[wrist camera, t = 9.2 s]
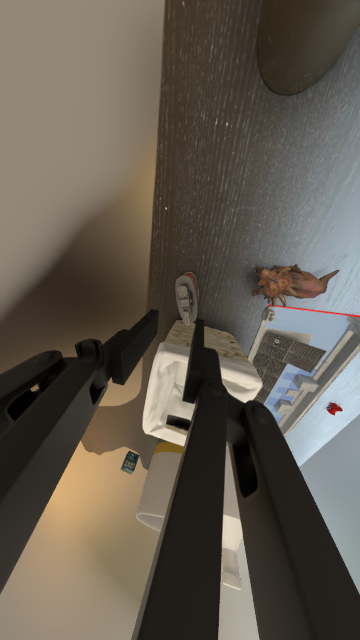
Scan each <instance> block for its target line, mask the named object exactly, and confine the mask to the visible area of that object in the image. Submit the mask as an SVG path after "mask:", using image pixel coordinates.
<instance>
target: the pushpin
mask: <svg viewBox="0 0 360 640" xmlns="http://www.w3.org/2000/svg"><path fill="white" fill-rule="evenodd" d="M331 405H332V407H331V409H327V411H328V412H329V413H330V414H332V415H335V412H336V411H343V410H342V409H341V408H340V407H339V405H340V404H339V405H336V404H334V403H331Z"/></svg>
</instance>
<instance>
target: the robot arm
mask: <svg viewBox="0 0 360 640" xmlns="http://www.w3.org/2000/svg"><path fill="white" fill-rule="evenodd" d="M158 315H159V311H158V310H153V309H151V310H150V311H149V312H148V313H147V314H146V315H145V316H144V317H143V318H142V319H141V320H140V321H139V322H138V323H136V324H135V325H134V326H133V327H132V328H131V329H130V330H126V329H124V330H121V331H119V332H117V333H116V334H115V335H114V336H113V337H111V338H110V339H109V340H108V341H107V342H105V343H104V344H103V345H102V343H101V341H99V340H96V339H88V340H83V341H81V342H78V343H77V344H75V348H76V352H77V356H78V357H68V358H66V357H63V356H62V353H61V352H60V351H55V350H52V351H46V352H43V353H40V354H37V355H35V356H33V357H31V358H30V359H28V360H26V361H24V362H22V363H20V364H19V365H17V366H15V367H13V368H11V369H9V370H7V371H5V372H4V373H2V374H0V594H1V592H2V590H3V588H4V586H5V584H6V582H7V580H8V579H9V577H10V575H11V573H12V571H13V569H14V567H15V565H16V563H17V561H18V559H19V557H20V556H21V554H22V552H23V550H24V548H25V546H26V544H27V542H28V540H29V538H30V536H31V534H32V532H33V530H34V529H35V527H36V525H37V523H38V521H39V519H40V517H41V515H42V513H43V511H44V509H45V507H46V505H47V504H48V502H49V500H50V498H51V496H52V494H53V492H54V490H55V488H56V486H57V484H58V482H59V480H60V479H61V477H62V475H63V473H64V471H65V469H66V467H67V465H68V463H69V461H70V459H71V457H72V455H73V453H74V452H75V450H76V448H77V446H78V444H79V442H80V440H81V438H82V436H83V434H84V432H85V430H86V428H87V427H88V425H89V423H90V421H91V419H92V417H93V415H94V413H95V411H96V409H97V407H98V405H99V403H100V401H101V399H102V398H103V396H104V393H105V392H106V390H107V387H108V381H109V380H110V378H111V377H112V381H113V383H116V384H120V385H124V384H125V382H126V381H127V379H128V378H129V376H130V374H131V373H132V371H133V370H134V368H135V367H136V365H137V363H138V362H139V361H140V359H141V357H142V356H143V354H144V353H145V351H146V350H147V348H148V347H149V345H150V344H151V342H152V340H153V339H154V337H155V336H156V334H157V327H158ZM36 384H37V385H38V387H39V389H38V390H36V391H33V392H32V391H31V390H30V389H31V388H32V387H34V386H35V385H36ZM182 401H183V402H187V403H191V404H194V403H195V409H194V412H193V415H192V418H191V423H190V426H189V430H188V434H187V437H186V441H185V445H184V448H183V452H182V456H181V459H180V463H179V467H178V470H177V474H176V478H175V481H174V485H173V489H172V492H171V496H170V500H169V503H168V507H167V511H166V514H165V518H164V522H163V525H162V529H161V533H160V537H159V540H158V544H157V547H156V551H155V555H154V558H153V562H152V566H151V569H150V573H149V577H148V580H147V584H146V588H145V591H144V595H143V598H142V602H141V606H140V610H139V613H138V617H137V620H136V625H135V628H134V631H133V635H132V639H131V640H218V627H219V603H220V581H221V557H222V533H223V509H224V485H225V461H226V441H228V446H229V452H230V458H231V465H232V471H233V477H234V483H235V490H236V496H237V502H238V508H239V514H240V521H241V527H242V533H243V539H244V545H245V552H246V558H247V564H248V570H249V577H250V583H251V589H252V594H253V602H254V608H255V614H256V620H257V626H258V633H259V638H260V640H360V594H359V592H358V590H357V588H356V586H355V584H354V582H353V580H352V578H351V576H350V574H349V572H348V570H347V567H346V565H345V563H344V561H343V559H342V557H341V555H340V553H339V551H338V549H337V547H336V544H335V542H334V540H333V538H332V536H331V534H330V532H329V530H328V528H327V526H326V524H325V521H324V519H323V517H322V515H321V513H320V511H319V509H318V507H317V505H316V503H315V501H314V499H313V497H312V495H311V492H310V490H309V488H308V486H307V484H306V482H305V480H304V478H303V476H302V473H301V471H300V469H299V467H298V465H297V463H296V461H295V459H294V457H293V455H292V453H291V451H290V448H289V446H288V444H287V442H286V440H285V438H284V436H283V434H282V432H281V430H280V428H279V426H278V423H277V421H276V419H275V417H274V416H273V414H272V413H271V411H270V410H269V409H268V408H267V407H266V406H265V405H263V404H262V403H260V402H258V401H255V400H249V401H247V402H246V403H244V402H242V401H240V400H239V399H237V398H235V397H234V396H232V395H231V394H230V393H229V392H228V391H227V389H226V387H225V386H224V385H223V382H222V375H221V368H220V362H219V355H218V353H217V351H216V350H215V349H212V348H207V347H204V320H201V319H197V320H196V324H195V328H194V333H193V337H192V342H191V348H190V354H189V360H188V367H187V373H186V379H185V385H184V392H183V398H182Z"/></svg>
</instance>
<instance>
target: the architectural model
mask: <svg viewBox="0 0 360 640" xmlns="http://www.w3.org/2000/svg"><path fill="white" fill-rule="evenodd" d="M262 318H263V320H262V322H261V325H260V327H259V330H258V332H257V335H256V337H255V340H254V342H253V345H252V347H251V350H250V352H249V355H248V360H249V362H250V363H251V364H252V365H253V366H254V367H255V368H256V370H257V373H258V375H259V377H260V378H261V380H262V388H261V389H260V391H259V392H258V394H257V395H256V397H255V398H254V399H253V400H255V401H258V402H260V403H262V404H263V405H265V406H266V407H267V408H268V409H269V410H270V411H271V413H272V414H273V416H274V417H275V419H276V421H277V423H278V426H279V428H280V430H281V432H282V434H283V436H284V437H286V436H287V435H288V434H289V432H290V431H291V430H292V429H293V428H294V427H295V425H296V424H297V423H298V422H299V421H300V420H301V418H302V417H303V416H304V415H305V414H306V413H307V411H308V410H309V409H310V408H311V407H312V406H313V404H314V403H315V402H316V401H317V400H318V399H319V398H320V396H321V395H322V394H323V393H324V392H325V391H326V389H327V388H328V387H329V386H330V385H331V384H332V382H333V381H334V380H335V379H336V378H337V377H338V375H339V374H340V373H341V372H342V371H343V370H344V368H345V367H346V366H347V365H348V364H349V363H350V361H351V360H352V359H353V358H354V357H355V356H356V354H357V353H358V352H359V351H360V316H358V315H350V314H341V313H333V312H325V311H317V310H309V309H300V308H292V307H284V306H276V305H275V306H274V307H272V305H268V307H267V308H265V311H264V313H263V316H262Z"/></svg>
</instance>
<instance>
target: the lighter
mask: <svg viewBox="0 0 360 640" xmlns="http://www.w3.org/2000/svg"><path fill="white" fill-rule="evenodd" d="M176 301H177V306H178V309H179V313H180V315H181V318H182V320H183V321H184V324H186V325H190V324H191V323H192V322H194V321H195V320H196V317H197V307H198V303H199V289H198V284H197V280H196V277H195V275H194V273H192V272H186V273H185V274H184V275H183V276H180V277H179V278H178V279H177V280H176Z"/></svg>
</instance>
